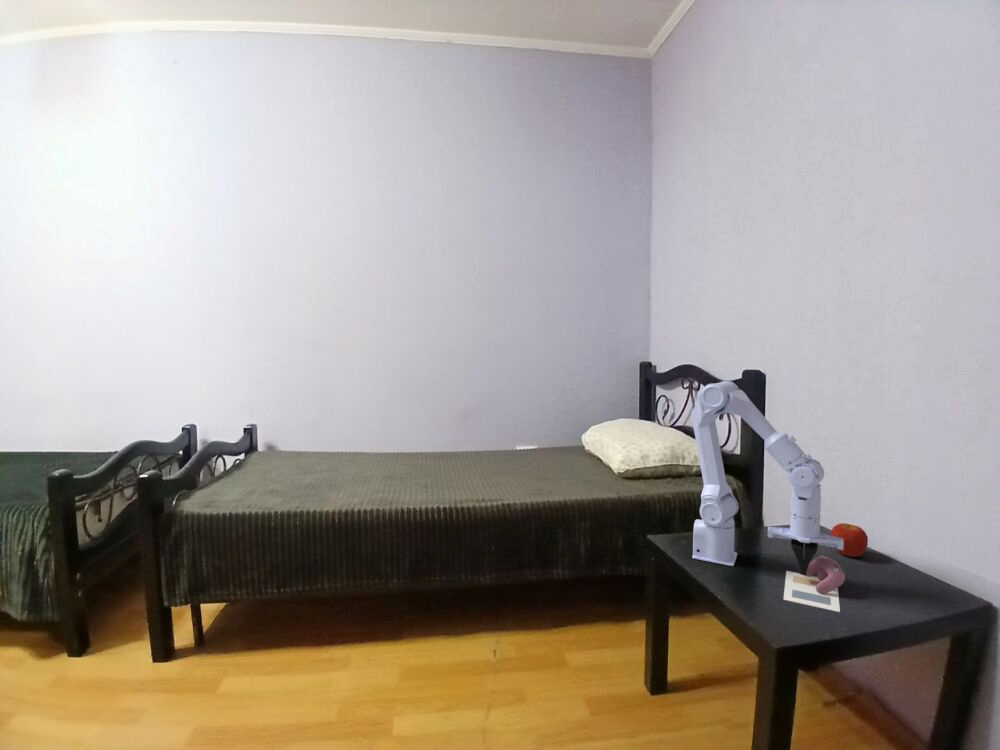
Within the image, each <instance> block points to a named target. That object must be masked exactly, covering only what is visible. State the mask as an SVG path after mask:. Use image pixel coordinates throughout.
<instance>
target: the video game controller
mask: <svg viewBox="0 0 1000 750" xmlns="http://www.w3.org/2000/svg"><path fill="white" fill-rule="evenodd" d="M842 569H843V568H842V567H841V566H840V564H839V562H838V561H836V560H835V559H833V558H831V557H829V556H824V555H820V556H818V557H816V558H814V559H813V560H811V561H810V563H809V566H808V569H807V572H806V575H805V576H815V575H817V574H818V575H817V577H818V579H819V580H821V582H819V583H818V584H817V586H816V591H817V592H818V593H828V592H831V591H833V590H834V589H836V588H837V587H838V588H839V587H841V586H842V585H843V584H844V582H845V580H846V574H845V572H843V570H842Z"/></svg>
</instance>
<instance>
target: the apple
mask: <svg viewBox="0 0 1000 750" xmlns="http://www.w3.org/2000/svg"><path fill="white" fill-rule="evenodd" d="M830 531H831V532H830V536H834V537H838V538H843V541H844V543H843V550H841V549H837V548H835V547H834V549H835V551H837V552H838V553H840V554H841V555H844V556H847V557H852V558H858V557H861V556H862V555H863V554H864V553H865V551H866V550H867V548H868V543H869V541H868V540H869V537H868V534H867V533H866V531H864V529H863V528H862V527H861V526H858V525H853V524H850V523H843V522H842V523H838V524H836V525H834V526H833V527H832V528H831V530H830Z"/></svg>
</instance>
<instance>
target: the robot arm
mask: <svg viewBox="0 0 1000 750" xmlns="http://www.w3.org/2000/svg"><path fill="white" fill-rule="evenodd" d="M696 396H697V399H696V403H695V405H694V408H693V411H692V414H691V421H692V426H693V433H694V437H695V443H696V449H697V454H698V455H697V456H698V461H699V465H700V471H701V475H702V481H703V482H702V483H703V488H702V492H701V494H700V499H701V502H700V507H699V515H700V517H701V519H695V520H694V523H693V533H692V534H693V535H692V536H693V537H692V538H693V539H692V559H694V560H699V561H704V562H710V563H715V564H720V565H724V566H729V567H734V566H735V562H736V560H737V556H738V553H737V552H735V527H736V526H735V525H736V523H735V520H734V517H735V515H736V514H737V513H738V511H739V503H738V501H737V499H736V497H735V495H734V494H733V491H732V487H731V486H730V485H729V484H728V482H727V478H726V473H725V468H724V461H723V458H722V451H721V446H720V440H719V435H718V434H719V433H718V429H717V423H716V420H717V419H718V418H719V417H720V415H722V413H727V414H732V415H736V416H739V417H741V419H743V421H744V422H746V424H747V425H748V426H749V427H750V428H752V429H753V431H754V432H755V433H757V434H758V435H759V436H760V438H762V439H763V440H764V449H765V451H767V452H768V454H769V455H770V456H771V457H772V458H773V459H774V460H775V461H776V462H777V464H778V465H779V466H780V467H781V468H782V469H783V470H784V471H785V472H787V474H788V475H787V478H788V481H789V483H790V485H791V496H790V517H789V518H790V520H789V522H790V523H789V527H777V526H776V527H775V526H768V527H767V537H768V538H770V539H773V538H777V539H783V540H789V541H790V547H791V550H792V551H793V553H794V555H795V557H796V561H797V563H798V567H799V573H800V574H801V575H806V572H807V569H808V566H809V563H810V562H812V559H813V558H814V556H815V555H816V554H817V551H818V545H819V546H824V547H829V548H831V547H832V548H834V549H835V548H837V549H841V550H843V543H844V541H843V538H838V537H834V536H831V534H830V535H829V534H826V533H822V532H821V531H820V530H821V505H822V504H821V503H822V495H821V493H822V490H821V488H822V487H821V486H822V485H821V482H822V481H823V479H824V477H825V470H824V468H823V466H822V465H821V462H819V461H818V460H817V459H813V458H812V456H811V455H810V454H807V453H805V451H804V450H803V449H802V448H801V447H800V446H799V445H798V444H797V443H796V441H797V439H796V438H795V437H794V436H793V435H791V436H789V435H788V434H787V432H785V433H784V432H779V431H777V429H775V428H774V426H773V425H772V424H771V423H770V422H769V421H768V419H767V418H766V417H765V416H764V415H763V413H762V412H761V411H760V410H759V409H758V408H757V406H755V404H754V403H753V402H752V401H751V399H750V398H749V397H748V395H747V394H746V393H745V391H743V390H742V389H740V388H739V386H738V385H737V384H735V382H733V381H730V380H723V381H720V382H717V383H708V384H706V385H705V386H703V388H701V390H700V391H699V392H698V393H697V394H696Z"/></svg>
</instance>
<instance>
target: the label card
mask: <svg viewBox="0 0 1000 750" xmlns="http://www.w3.org/2000/svg"><path fill="white" fill-rule="evenodd" d="M819 582H821V580H819V579H818V576H815V575H810V576H805V575H801V574H800V572H799V573H798V572H795V571H789V570H786V573H785V581H784V589H783V591H784V592H783V600H784V601H788V602H792V603H796V604H801V605H805V606H811V607H815V608H819V609H824V610H827V611H828V610H829V611H833V612H837V613H841V608H840V607H841V605H840V598H839V586H838V587H837V588H836V589H834V590H833V591H831V592H828V593H818V592H817V591H816V586H817V584H818V583H819Z"/></svg>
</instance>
